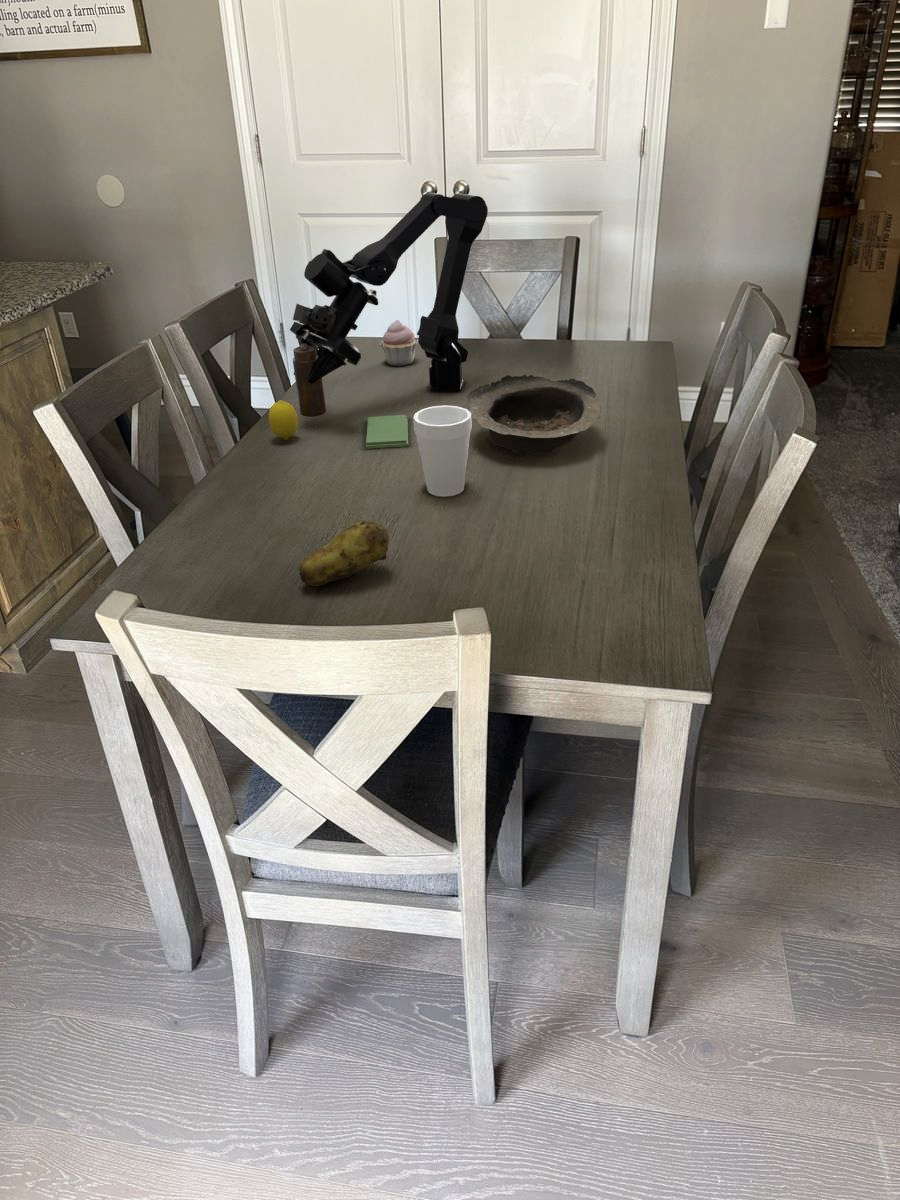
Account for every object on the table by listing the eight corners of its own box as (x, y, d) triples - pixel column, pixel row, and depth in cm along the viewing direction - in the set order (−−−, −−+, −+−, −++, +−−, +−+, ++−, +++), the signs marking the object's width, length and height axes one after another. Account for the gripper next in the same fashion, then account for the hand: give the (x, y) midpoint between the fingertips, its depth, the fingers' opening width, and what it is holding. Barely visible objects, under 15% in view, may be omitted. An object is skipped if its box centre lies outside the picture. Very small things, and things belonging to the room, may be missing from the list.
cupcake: (425, 357, 211) (422, 315, 206) (412, 369, 204) (409, 326, 198) (389, 355, 214) (386, 314, 208) (375, 366, 206) (371, 324, 201)
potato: (303, 566, 127) (296, 517, 123) (391, 559, 128) (387, 510, 123) (300, 595, 120) (292, 545, 116) (393, 588, 121) (388, 538, 116)
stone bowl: (525, 405, 179) (529, 362, 174) (624, 444, 164) (631, 398, 159) (440, 439, 164) (440, 392, 159) (540, 484, 150) (544, 435, 145)
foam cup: (480, 480, 150) (478, 408, 143) (463, 503, 142) (461, 428, 135) (429, 474, 153) (425, 403, 146) (410, 497, 145) (404, 423, 138)
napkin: (407, 419, 176) (407, 414, 175) (408, 446, 164) (407, 440, 163) (368, 422, 176) (367, 416, 175) (366, 448, 164) (365, 442, 163)
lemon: (303, 434, 171) (297, 395, 167) (296, 445, 167) (290, 405, 162) (276, 434, 172) (270, 395, 168) (268, 445, 167) (262, 405, 163)
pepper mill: (329, 407, 176) (320, 339, 168) (322, 417, 172) (313, 347, 164) (304, 407, 177) (294, 339, 169) (297, 416, 172) (286, 347, 165)
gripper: (291, 278, 170) (250, 346, 170) (340, 294, 157) (294, 368, 157) (331, 311, 178) (291, 376, 178) (380, 329, 165) (337, 399, 165)
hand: (302, 379), depth 170 cm, fingers closed on pepper mill, 5 cm apart
